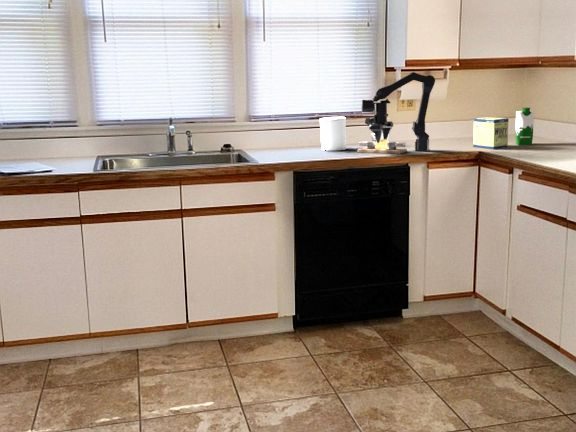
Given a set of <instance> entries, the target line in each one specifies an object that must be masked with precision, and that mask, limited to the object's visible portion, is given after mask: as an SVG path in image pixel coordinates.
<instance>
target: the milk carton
mask: <svg viewBox="0 0 576 432" xmlns="http://www.w3.org/2000/svg"><path fill="white" fill-rule="evenodd" d="M534 117H535V111H534V110H531V107H522V109H521V110H518V111H517V110H516V111H515V133H514V134H515V144H516V145H517V146H532V145H533V139H534V119H535V118H534Z"/></svg>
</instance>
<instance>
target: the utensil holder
mask: <svg viewBox="0 0 576 432" xmlns="http://www.w3.org/2000/svg"><path fill="white" fill-rule="evenodd" d="M346 120H347V117H345V116H331V117H321V118H319V126H320V127H319V128H320V129H319V131H320V144H321V151H325V150H326V151H325V152H327V151H328V152H329V151H330V152H331V151H344V150H346V149H347V127H346V126H347V125H346V124H347V122H346Z"/></svg>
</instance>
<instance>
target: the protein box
mask: <svg viewBox="0 0 576 432" xmlns="http://www.w3.org/2000/svg"><path fill="white" fill-rule="evenodd" d="M472 139H473V140H472V141H473V143H472V147H473V148H480V149H487V150H500V149H506V148H508V145H509V118H507V117H506V118H505V117H491V116H488V117H487V116H486V117H485V116H484V117H475V118H473V138H472Z"/></svg>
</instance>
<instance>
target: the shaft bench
mask: <svg viewBox="0 0 576 432" xmlns="http://www.w3.org/2000/svg"><path fill="white" fill-rule="evenodd" d="M375 146H376V142H375V141H372V140H370V141H359V142H358V147H362V148H358V149H357V150H356V151H357V153H364V154H367V153H368V154H369V153H370V154H390V155H391V154H392V155H400V154H404V153H406V152H407V150H408V149H407V148H406V142H397V141H389V143H387V147H388V149H376V147H375Z"/></svg>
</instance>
